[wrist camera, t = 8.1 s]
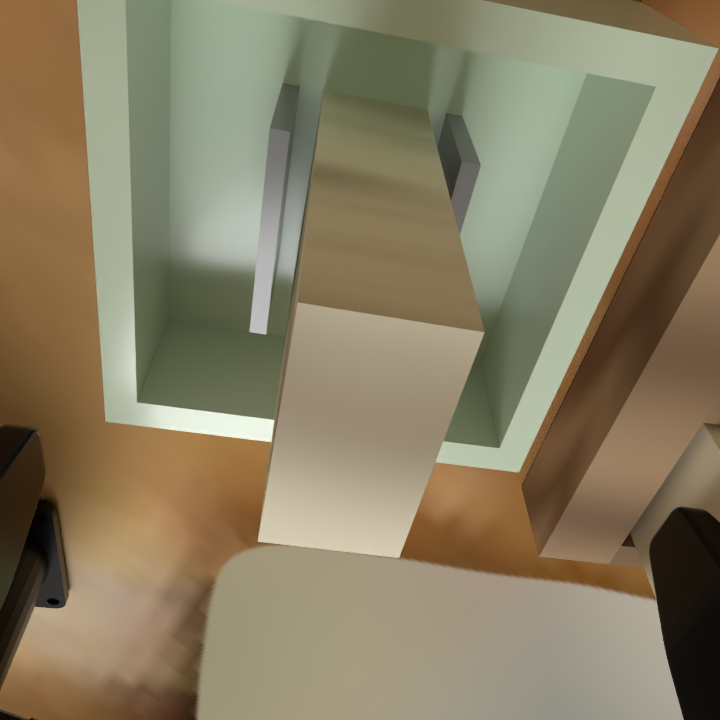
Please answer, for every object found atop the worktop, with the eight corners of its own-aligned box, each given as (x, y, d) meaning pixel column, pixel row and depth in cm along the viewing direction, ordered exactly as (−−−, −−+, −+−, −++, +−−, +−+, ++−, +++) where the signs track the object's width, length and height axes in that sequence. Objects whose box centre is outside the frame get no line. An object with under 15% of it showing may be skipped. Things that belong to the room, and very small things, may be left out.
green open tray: (495, 379, 22) (518, 472, 19) (143, 330, 20) (105, 421, 17) (642, 2, 15) (718, 48, 12) (135, -104, 14) (71, -85, 11)
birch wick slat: (382, 287, 19) (398, 557, 12) (294, 272, 19) (257, 541, 12) (427, 110, 16) (484, 332, 9) (323, 89, 16) (297, 302, 9)
